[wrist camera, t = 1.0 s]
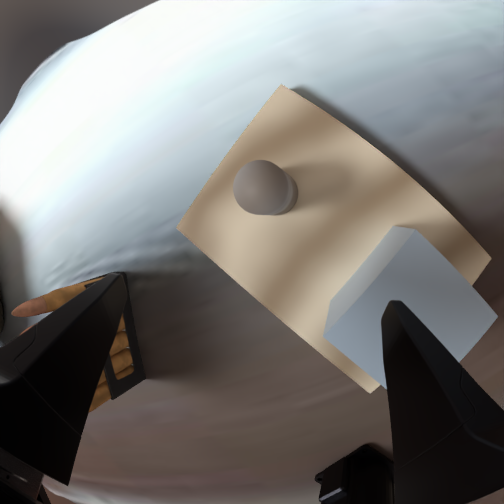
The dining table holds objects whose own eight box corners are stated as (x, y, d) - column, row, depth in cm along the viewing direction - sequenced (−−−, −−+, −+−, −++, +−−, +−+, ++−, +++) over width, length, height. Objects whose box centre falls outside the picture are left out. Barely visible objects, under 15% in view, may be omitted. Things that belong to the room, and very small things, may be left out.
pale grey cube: (457, 288, 17) (498, 316, 11) (395, 357, 19) (410, 408, 13) (392, 225, 18) (415, 229, 12) (330, 300, 20) (322, 336, 14)
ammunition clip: (111, 272, 27) (3, 298, 15) (125, 271, 26) (14, 300, 15) (131, 376, 27) (46, 433, 16) (146, 379, 27) (60, 440, 15)
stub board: (484, 256, 17) (519, 266, 12) (369, 385, 21) (372, 425, 16) (284, 90, 20) (266, 58, 15) (183, 227, 24) (144, 229, 19)
